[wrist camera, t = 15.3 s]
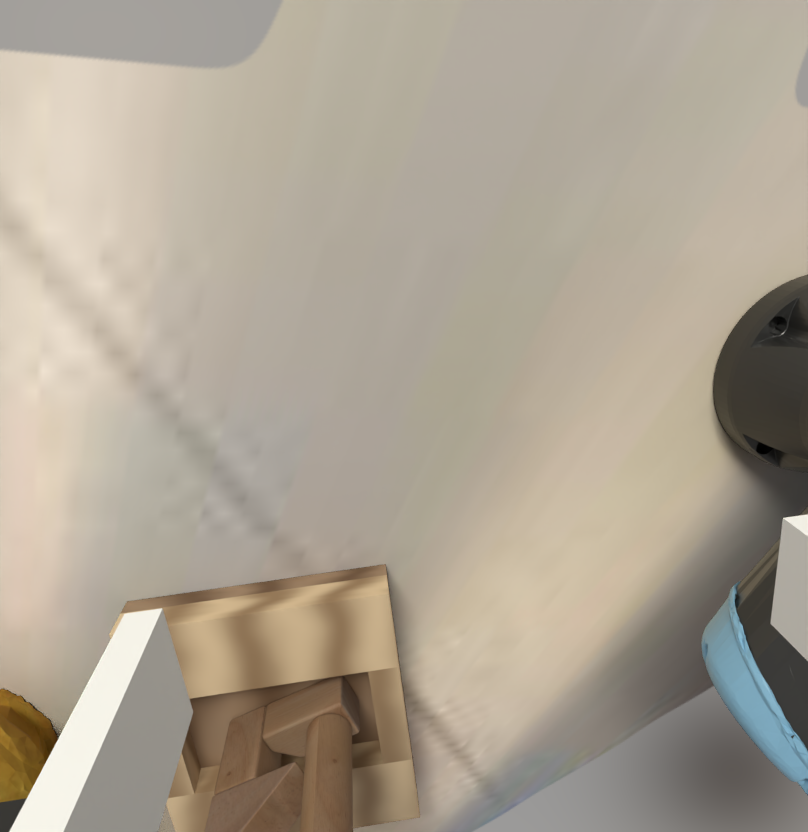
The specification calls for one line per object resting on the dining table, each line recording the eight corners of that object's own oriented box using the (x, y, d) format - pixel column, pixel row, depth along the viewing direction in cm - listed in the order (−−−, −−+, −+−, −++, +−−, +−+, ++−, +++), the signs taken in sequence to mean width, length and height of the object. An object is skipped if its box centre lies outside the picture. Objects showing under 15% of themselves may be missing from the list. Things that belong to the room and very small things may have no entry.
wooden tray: (385, 564, 50) (388, 594, 47) (415, 777, 59) (420, 817, 55) (127, 601, 50) (109, 634, 46) (194, 813, 58) (183, 856, 54)
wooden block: (228, 718, 53) (172, 966, 36) (341, 669, 52) (339, 898, 35) (249, 747, 54) (206, 999, 37) (360, 699, 53) (367, 934, 36)
